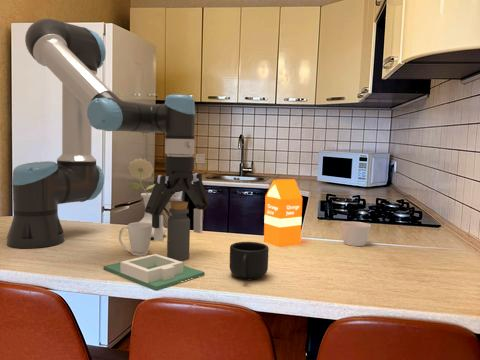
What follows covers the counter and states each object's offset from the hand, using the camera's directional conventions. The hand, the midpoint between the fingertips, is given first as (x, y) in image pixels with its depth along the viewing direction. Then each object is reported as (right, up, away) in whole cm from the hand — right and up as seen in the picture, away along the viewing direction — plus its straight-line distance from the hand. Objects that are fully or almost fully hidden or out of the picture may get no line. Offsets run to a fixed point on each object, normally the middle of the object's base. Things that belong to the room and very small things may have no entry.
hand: (179, 236), depth 111 cm
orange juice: (+29, -5, +21) cm, 37 cm away
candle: (+53, -6, +23) cm, 57 cm away
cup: (-13, -5, +5) cm, 15 cm away
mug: (+18, -8, -13) cm, 24 cm away
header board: (-4, -7, -12) cm, 14 cm away
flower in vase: (-14, -3, +24) cm, 28 cm away
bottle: (0, -6, +1) cm, 6 cm away
